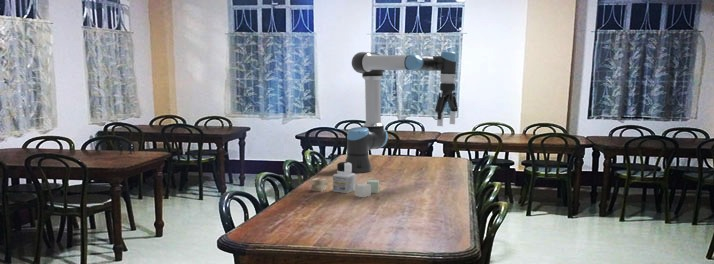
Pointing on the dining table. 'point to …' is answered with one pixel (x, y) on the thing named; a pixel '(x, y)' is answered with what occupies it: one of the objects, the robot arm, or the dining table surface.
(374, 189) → the sage cube
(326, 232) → the dining table surface
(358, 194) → the cream cube
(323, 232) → the dining table surface
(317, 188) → the beech cube
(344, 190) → the container
